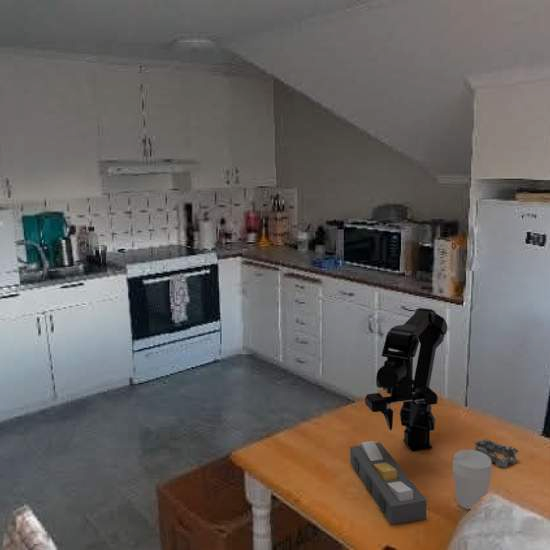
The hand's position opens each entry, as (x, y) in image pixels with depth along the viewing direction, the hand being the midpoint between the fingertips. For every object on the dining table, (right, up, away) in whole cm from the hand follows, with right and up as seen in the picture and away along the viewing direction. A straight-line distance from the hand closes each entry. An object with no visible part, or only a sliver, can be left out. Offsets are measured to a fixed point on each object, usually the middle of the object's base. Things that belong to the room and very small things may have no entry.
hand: (400, 428), depth 153 cm
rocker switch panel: (-6, -14, -7) cm, 16 cm away
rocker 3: (-4, -12, -16) cm, 21 cm away
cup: (+14, -15, -14) cm, 25 cm away
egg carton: (+28, -10, +6) cm, 30 cm away
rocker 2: (-6, -10, -8) cm, 14 cm away
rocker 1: (-8, -8, +1) cm, 11 cm away
